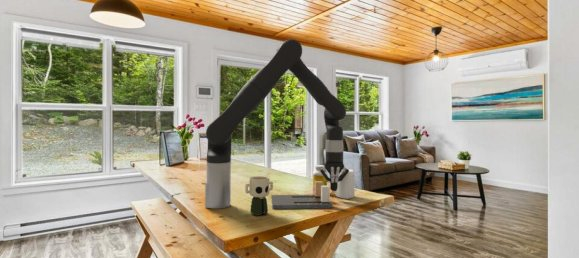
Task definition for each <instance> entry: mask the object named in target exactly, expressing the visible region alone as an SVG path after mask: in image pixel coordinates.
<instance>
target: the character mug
mask: <svg viewBox="0 0 579 258" xmlns="http://www.w3.org/2000/svg"><path fill="white" fill-rule="evenodd" d="M244 186H245V187H244V188H245V191H244V192H245V194H249V196H251V197H252V198H251V203H250V213H251V214H252V215H256V216H258V215H259V216H260V215H262V214H263V215H266V214H268V212H269V211H268V210H269V209H268V208H269V207H268V200H267V197H268V196H269V194H270V191H273V189H274V188H273V187H274V182H273V181H270V177H269V176H263V175H257V176H251V177H249V183H246V184H245V185H244Z"/></svg>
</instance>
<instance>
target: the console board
mask: <svg viewBox="0 0 579 258" xmlns="http://www.w3.org/2000/svg"><path fill="white" fill-rule="evenodd" d="M270 199H272V200H271V208H272V210H296V209H297V210H303V209H304V210H305V209H306V210H310V209H313V210H314V209H333V204H332V202H322V201H321V196H315V194H271V198H270Z"/></svg>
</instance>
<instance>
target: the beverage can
mask: <svg viewBox="0 0 579 258" xmlns="http://www.w3.org/2000/svg"><path fill="white" fill-rule="evenodd" d="M347 169H348V170H349V172H348V173H347V175H346V176H345V177H344V178H343V180H342V181H339V182H338V189H337V190H336V191H335V196H336V197H338V198H340V199H342V200H343V199H345V200H348V199H352V198H354V197H355V185H356V183H355V182H356V177H355V176H356V174H355V171H354V169H350V168H347ZM342 172H343V171H341V172H340V173H339V176H340V175H341V174H342ZM338 178H339V177H338Z"/></svg>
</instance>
